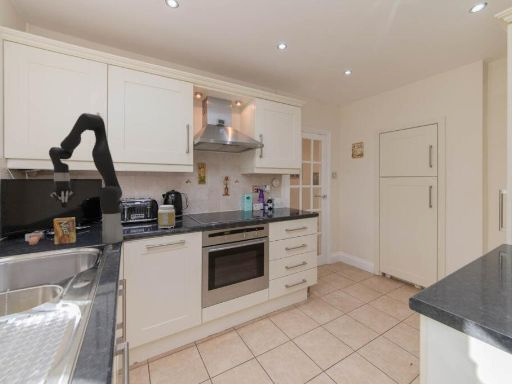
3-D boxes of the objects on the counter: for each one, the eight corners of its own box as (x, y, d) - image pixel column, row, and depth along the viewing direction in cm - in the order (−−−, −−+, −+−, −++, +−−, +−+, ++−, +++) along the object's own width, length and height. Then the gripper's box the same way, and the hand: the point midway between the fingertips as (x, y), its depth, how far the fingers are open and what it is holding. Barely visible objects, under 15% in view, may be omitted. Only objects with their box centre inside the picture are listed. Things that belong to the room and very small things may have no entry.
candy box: (76, 243, 132) (75, 217, 132) (75, 245, 129) (74, 218, 128) (56, 245, 128) (55, 218, 127) (54, 247, 124) (53, 219, 123)
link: (32, 237, 139) (31, 232, 139) (42, 236, 142) (42, 231, 142) (26, 245, 122) (26, 240, 122) (38, 243, 125) (38, 238, 125)
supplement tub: (159, 226, 182) (159, 205, 181) (175, 225, 185) (175, 204, 184) (157, 229, 170) (156, 206, 169) (174, 228, 174) (174, 206, 173)
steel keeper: (18, 241, 130) (17, 234, 130) (37, 237, 140) (37, 230, 140) (34, 242, 129) (34, 235, 129) (52, 237, 140) (52, 230, 140)
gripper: (70, 180, 148) (71, 206, 149) (45, 180, 136) (47, 209, 137) (77, 180, 146) (79, 207, 147) (53, 180, 133) (55, 209, 134)
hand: (63, 208), depth 142 cm, fingers closed
